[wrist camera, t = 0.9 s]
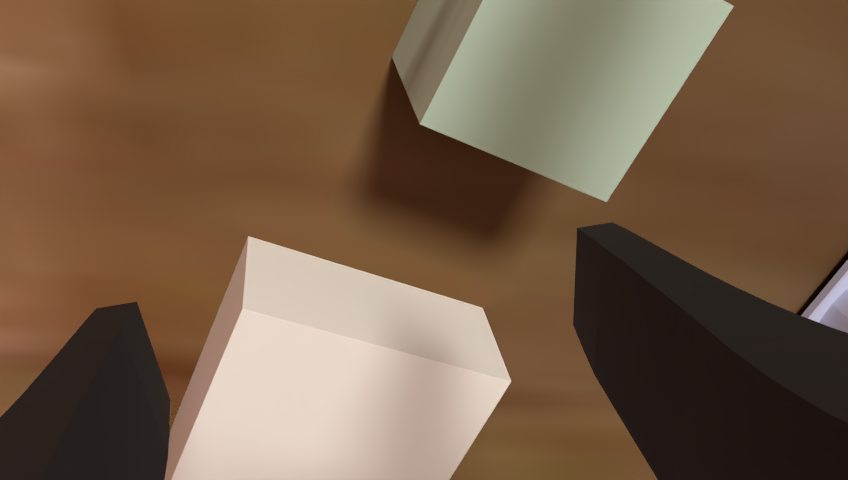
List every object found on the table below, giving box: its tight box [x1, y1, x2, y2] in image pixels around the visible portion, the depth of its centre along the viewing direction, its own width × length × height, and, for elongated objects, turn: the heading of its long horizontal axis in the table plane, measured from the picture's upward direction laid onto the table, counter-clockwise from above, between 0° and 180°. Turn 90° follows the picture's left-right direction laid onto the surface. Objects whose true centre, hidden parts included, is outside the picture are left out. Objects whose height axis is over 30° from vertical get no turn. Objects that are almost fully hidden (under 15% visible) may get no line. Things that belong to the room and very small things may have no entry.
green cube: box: [392, 0, 734, 202], centre depth 18 cm, size 5×5×5 cm
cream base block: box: [164, 236, 511, 480], centre depth 24 cm, size 8×8×4 cm
